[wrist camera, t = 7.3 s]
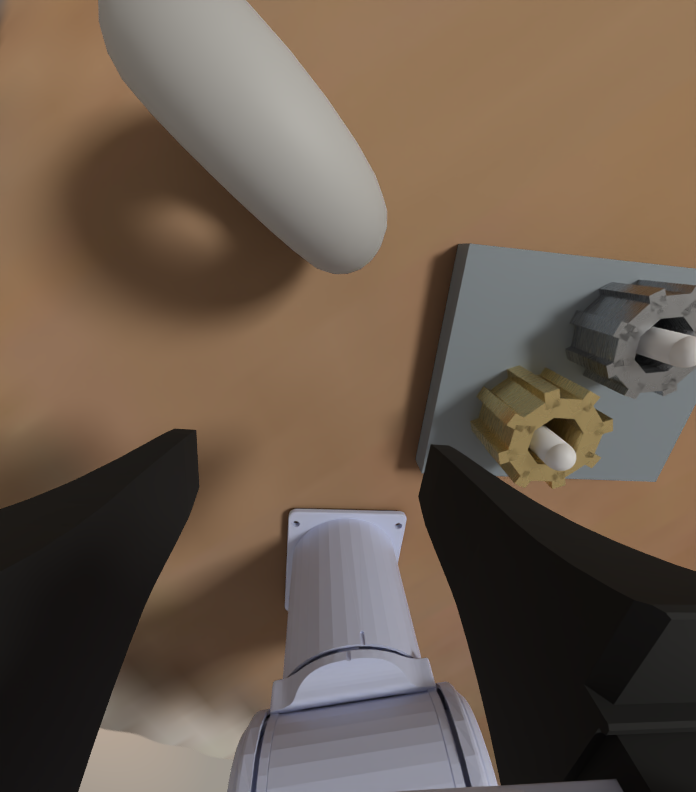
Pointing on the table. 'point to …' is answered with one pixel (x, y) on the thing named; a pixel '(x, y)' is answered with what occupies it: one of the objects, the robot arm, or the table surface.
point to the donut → (251, 122)
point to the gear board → (549, 357)
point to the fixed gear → (632, 335)
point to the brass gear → (538, 423)
